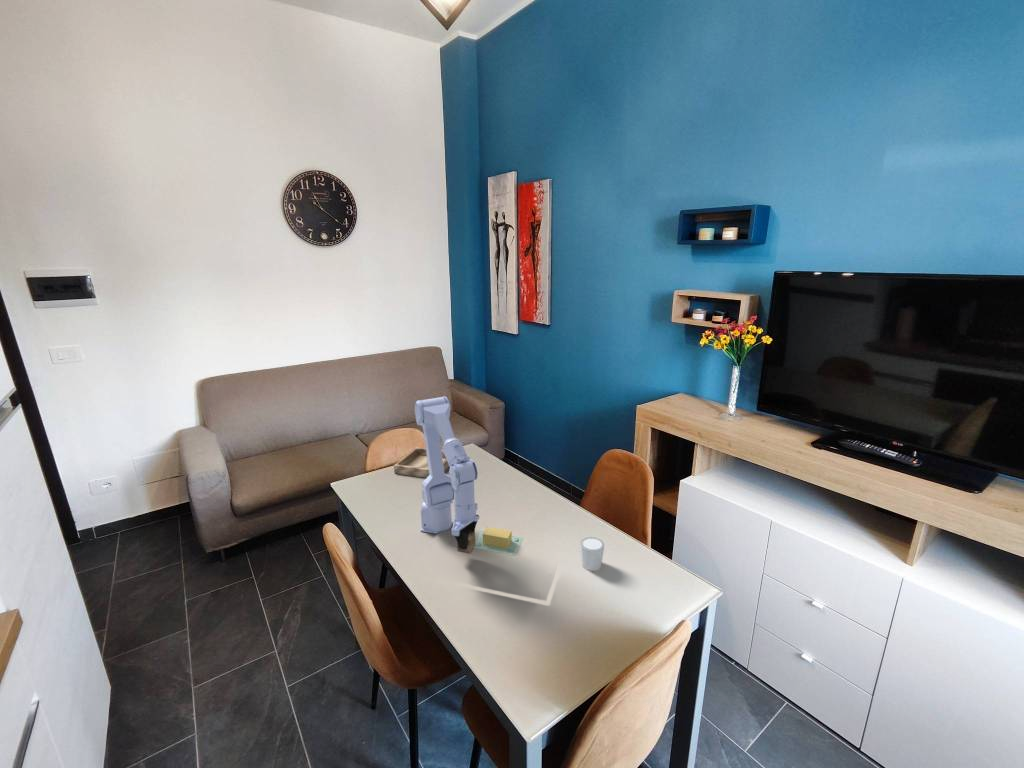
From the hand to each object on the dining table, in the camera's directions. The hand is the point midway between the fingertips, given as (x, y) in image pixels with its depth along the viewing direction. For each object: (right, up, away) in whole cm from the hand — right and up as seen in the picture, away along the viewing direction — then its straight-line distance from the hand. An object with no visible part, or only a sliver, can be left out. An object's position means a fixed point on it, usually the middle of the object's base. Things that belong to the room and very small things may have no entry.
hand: (466, 543), depth 137 cm
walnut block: (0, -2, 0) cm, 2 cm away
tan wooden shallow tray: (-23, +11, +63) cm, 68 cm away
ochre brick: (+9, -3, +9) cm, 13 cm away
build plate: (+9, -4, +9) cm, 13 cm away
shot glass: (+36, -6, 0) cm, 37 cm away
